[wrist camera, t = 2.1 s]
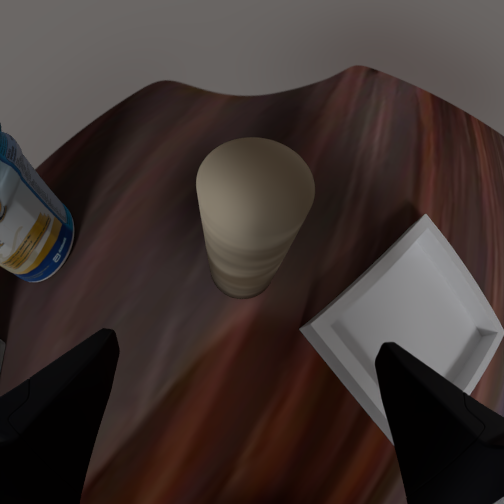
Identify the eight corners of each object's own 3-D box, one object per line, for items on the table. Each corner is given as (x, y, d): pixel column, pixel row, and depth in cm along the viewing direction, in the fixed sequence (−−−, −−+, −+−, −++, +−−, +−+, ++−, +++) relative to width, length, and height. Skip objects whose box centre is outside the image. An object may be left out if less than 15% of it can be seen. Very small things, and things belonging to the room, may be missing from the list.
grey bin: (399, 451, 18) (419, 459, 15) (299, 329, 22) (310, 324, 19) (484, 337, 22) (504, 332, 19) (408, 228, 26) (425, 213, 23)
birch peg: (235, 312, 22) (244, 261, 11) (198, 261, 23) (174, 170, 12) (286, 274, 23) (337, 195, 12) (248, 227, 24) (265, 123, 13)
